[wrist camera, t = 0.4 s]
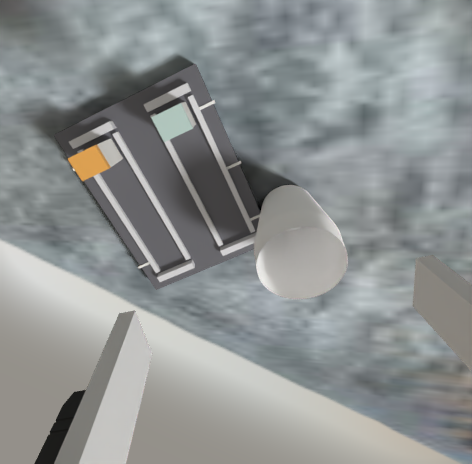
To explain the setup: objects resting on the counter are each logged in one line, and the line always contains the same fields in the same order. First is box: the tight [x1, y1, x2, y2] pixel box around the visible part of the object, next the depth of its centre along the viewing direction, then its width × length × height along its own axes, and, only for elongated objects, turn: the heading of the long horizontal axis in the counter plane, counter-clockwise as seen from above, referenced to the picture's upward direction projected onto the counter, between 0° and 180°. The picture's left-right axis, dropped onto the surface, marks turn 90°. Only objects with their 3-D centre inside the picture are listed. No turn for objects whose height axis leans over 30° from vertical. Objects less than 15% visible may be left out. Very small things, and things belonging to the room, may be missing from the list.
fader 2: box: [151, 102, 196, 142], centre depth 31 cm, size 2×3×5 cm
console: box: [54, 64, 261, 290], centre depth 37 cm, size 22×18×3 cm
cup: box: [254, 185, 348, 299], centre depth 35 cm, size 9×9×12 cm
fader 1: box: [68, 139, 123, 181], centre depth 32 cm, size 2×3×5 cm
